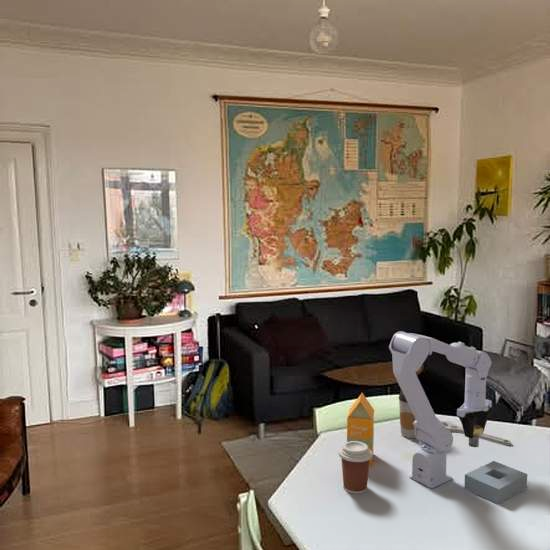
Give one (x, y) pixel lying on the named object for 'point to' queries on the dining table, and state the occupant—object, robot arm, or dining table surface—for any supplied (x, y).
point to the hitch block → (495, 481)
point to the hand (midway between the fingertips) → (473, 434)
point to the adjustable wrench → (455, 428)
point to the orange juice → (361, 423)
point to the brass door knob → (475, 436)
